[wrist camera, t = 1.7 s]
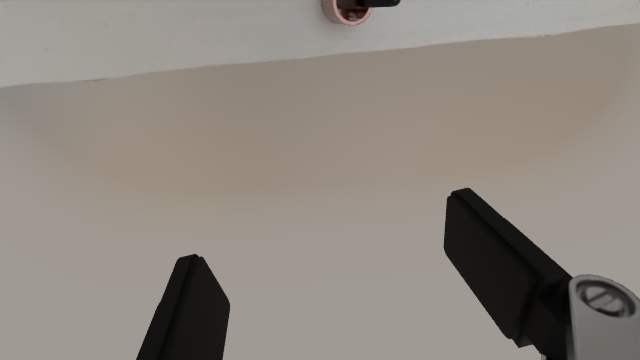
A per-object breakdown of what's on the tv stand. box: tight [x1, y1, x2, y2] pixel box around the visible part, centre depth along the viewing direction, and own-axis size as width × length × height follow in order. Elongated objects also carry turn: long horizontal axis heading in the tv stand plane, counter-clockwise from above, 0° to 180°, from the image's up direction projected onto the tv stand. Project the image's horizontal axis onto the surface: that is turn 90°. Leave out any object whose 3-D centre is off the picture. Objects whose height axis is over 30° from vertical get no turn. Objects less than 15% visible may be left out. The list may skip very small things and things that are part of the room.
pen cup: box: [321, 0, 373, 25], centre depth 32 cm, size 4×4×8 cm
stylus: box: [336, 0, 401, 9], centre depth 29 cm, size 1×1×14 cm
